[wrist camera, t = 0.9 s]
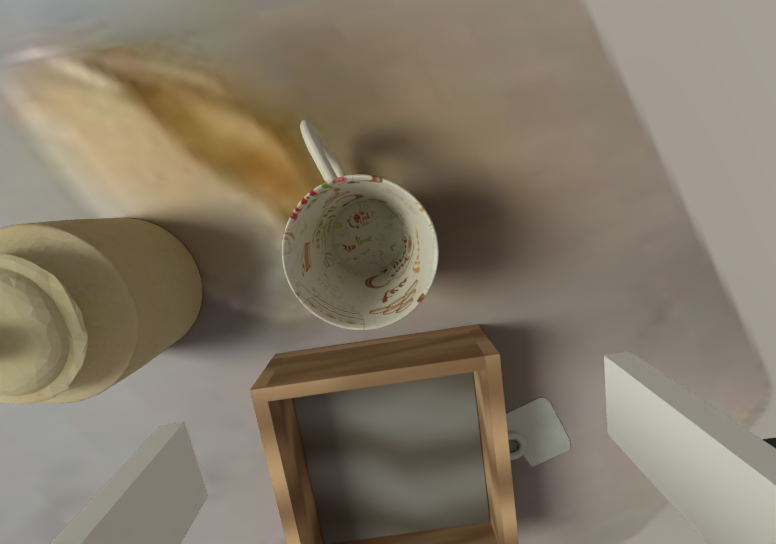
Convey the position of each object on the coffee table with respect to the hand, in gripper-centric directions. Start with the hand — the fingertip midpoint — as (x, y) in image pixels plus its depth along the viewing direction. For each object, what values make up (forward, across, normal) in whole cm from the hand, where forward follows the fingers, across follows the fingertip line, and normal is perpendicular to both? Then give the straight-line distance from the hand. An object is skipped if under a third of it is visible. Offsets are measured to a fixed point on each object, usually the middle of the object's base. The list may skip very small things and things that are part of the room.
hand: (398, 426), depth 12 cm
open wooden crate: (+19, -2, -14) cm, 24 cm away
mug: (+19, -2, +6) cm, 20 cm away
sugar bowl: (+19, -22, +2) cm, 29 cm away
